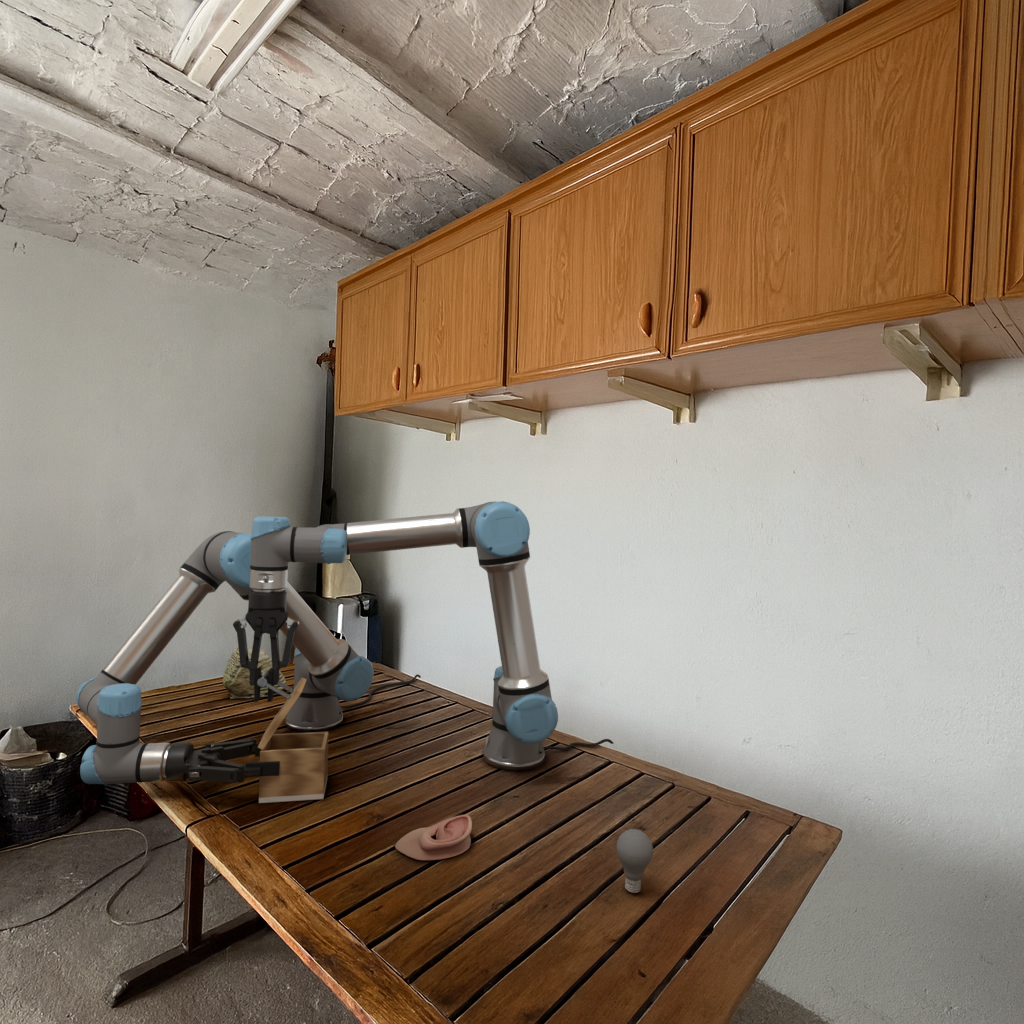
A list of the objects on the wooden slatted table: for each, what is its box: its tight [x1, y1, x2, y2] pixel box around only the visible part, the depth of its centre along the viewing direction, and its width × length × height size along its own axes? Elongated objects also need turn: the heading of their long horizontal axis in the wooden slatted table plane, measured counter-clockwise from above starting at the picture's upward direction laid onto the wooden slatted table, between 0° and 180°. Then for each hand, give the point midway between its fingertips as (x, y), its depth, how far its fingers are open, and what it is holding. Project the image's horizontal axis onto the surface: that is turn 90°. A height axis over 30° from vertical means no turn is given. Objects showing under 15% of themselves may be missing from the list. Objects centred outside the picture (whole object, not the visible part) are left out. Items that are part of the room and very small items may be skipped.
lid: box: [257, 671, 306, 750], centre depth 134 cm, size 14×10×9 cm
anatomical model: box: [394, 814, 473, 861], centre depth 117 cm, size 13×4×12 cm
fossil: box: [222, 646, 287, 699], centre depth 198 cm, size 9×18×15 cm, turn 132°
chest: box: [258, 731, 329, 804], centre depth 136 cm, size 13×10×11 cm
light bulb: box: [615, 828, 654, 894], centre depth 106 cm, size 6×6×10 cm
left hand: (283, 758), depth 135 cm, fingers closed on chest, 10 cm apart
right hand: (263, 699), depth 134 cm, fingers closed on lid, 2 cm apart
